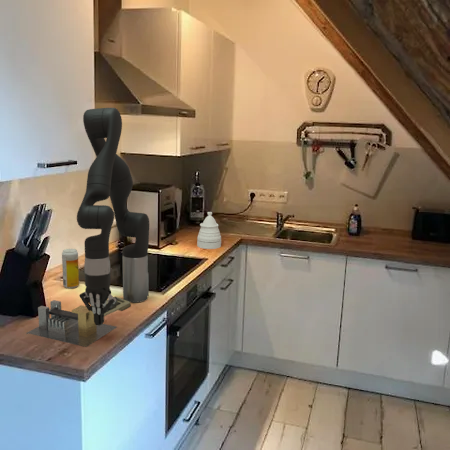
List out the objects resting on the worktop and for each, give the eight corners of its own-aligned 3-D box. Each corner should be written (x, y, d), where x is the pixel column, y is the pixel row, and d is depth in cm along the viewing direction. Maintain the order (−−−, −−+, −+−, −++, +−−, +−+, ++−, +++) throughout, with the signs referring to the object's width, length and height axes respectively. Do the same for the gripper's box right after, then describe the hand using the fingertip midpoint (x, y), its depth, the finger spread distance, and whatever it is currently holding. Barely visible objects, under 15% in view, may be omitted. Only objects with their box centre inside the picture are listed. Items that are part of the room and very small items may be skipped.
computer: (101, 322, 169) (100, 313, 169) (83, 317, 173) (83, 308, 172) (131, 308, 183) (131, 299, 182) (114, 303, 187) (113, 295, 186)
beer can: (82, 286, 203) (81, 250, 199) (70, 290, 198) (68, 253, 194) (72, 282, 206) (70, 247, 203) (60, 286, 201) (58, 250, 198)
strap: (52, 310, 163) (52, 307, 163) (86, 317, 158) (86, 314, 158) (45, 313, 160) (45, 310, 160) (79, 321, 155) (79, 318, 155)
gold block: (82, 327, 161) (81, 304, 159) (96, 331, 159) (95, 307, 157) (72, 333, 156) (71, 310, 155) (86, 337, 154) (85, 313, 153)
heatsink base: (61, 318, 171) (60, 295, 169) (117, 330, 163) (116, 306, 161) (26, 336, 156) (25, 311, 155) (86, 350, 148) (85, 324, 146)
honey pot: (197, 242, 276) (197, 210, 273) (220, 243, 277) (221, 211, 273) (197, 248, 264) (197, 215, 260) (221, 249, 265) (222, 215, 261)
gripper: (71, 271, 150) (73, 325, 154) (108, 277, 145) (110, 332, 149) (87, 264, 157) (89, 316, 161) (123, 270, 152) (124, 323, 156)
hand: (99, 324), depth 155 cm, fingers closed
